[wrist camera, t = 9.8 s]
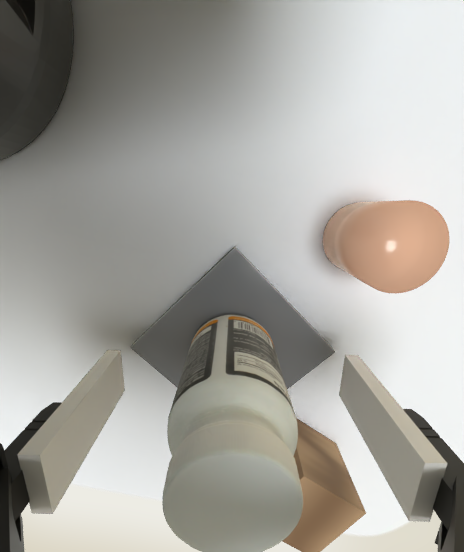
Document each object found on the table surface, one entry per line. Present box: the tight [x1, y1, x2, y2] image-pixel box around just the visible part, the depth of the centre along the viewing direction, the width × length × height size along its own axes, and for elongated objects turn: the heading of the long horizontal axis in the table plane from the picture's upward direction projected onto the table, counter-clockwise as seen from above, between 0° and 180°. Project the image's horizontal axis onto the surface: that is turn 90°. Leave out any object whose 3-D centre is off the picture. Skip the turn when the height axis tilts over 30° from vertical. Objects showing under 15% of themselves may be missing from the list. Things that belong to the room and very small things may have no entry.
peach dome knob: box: [323, 201, 449, 293], centre depth 15 cm, size 4×4×4 cm
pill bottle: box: [163, 315, 303, 552], centre depth 13 cm, size 6×6×10 cm
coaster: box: [130, 247, 335, 389], centre depth 18 cm, size 10×10×1 cm
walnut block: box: [283, 418, 366, 552], centre depth 19 cm, size 5×5×5 cm
